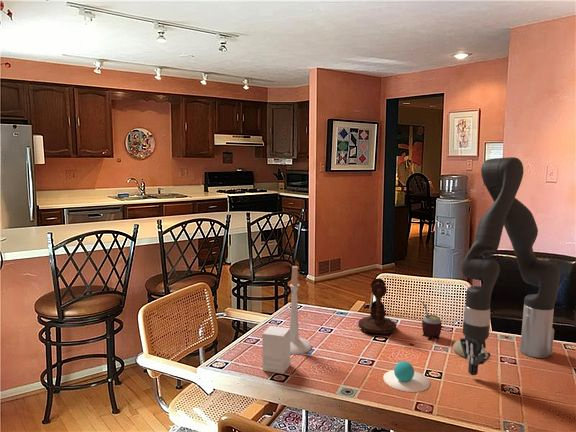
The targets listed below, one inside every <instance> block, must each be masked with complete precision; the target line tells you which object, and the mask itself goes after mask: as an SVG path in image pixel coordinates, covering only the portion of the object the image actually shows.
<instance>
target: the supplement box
mask: <svg viewBox="0 0 576 432" xmlns="http://www.w3.org/2000/svg"><path fill="white" fill-rule="evenodd" d="M290 366H291V354H290V327H282V326H275V325H269V326H268V327H267V328H266V329H265V331H263V332H262V371H264V372H269V373H276V374H282V375H284V374H285V372H286V371H287V370H288V368H289V367H290Z"/></svg>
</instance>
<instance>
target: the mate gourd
mask: <svg viewBox="0 0 576 432" xmlns="http://www.w3.org/2000/svg"><path fill="white" fill-rule="evenodd" d="M419 302H420V303H421V304H422V305H423V307H424V310H425V313H426V315H425V316H424V317H422V320H421V321H422V322H421V328H422V329H421V330H422V336H423V337H426V338H427V340H428V341H431V339H435V340H440V336H441V333H442V332H441V331H442V326H443V324H442V320H441V318H440V317H439V316H437V315H434V314H429V313H428V310H427V305H426V304H425V303H424V302H423V301H421V300H419Z"/></svg>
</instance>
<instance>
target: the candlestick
mask: <svg viewBox="0 0 576 432" xmlns="http://www.w3.org/2000/svg"><path fill="white" fill-rule="evenodd" d="M298 269H299V267H298V266H297V265H292V267H291V283H290V284H289V287H290V290H291V302H290V304H291V305H290V314H289V315H290V316H289V328H290V355H302V354H306V353H308V352H310V351H311V350H312V343H311V342H310V341H309V340H307V339H305V338H304V337H300V336H299V334H300V333H299V308H298V291H299V287H300V284H298V282H299V281H298V280H299V279H298V277H299V276H298V275H299V273H298V271H299V270H298Z"/></svg>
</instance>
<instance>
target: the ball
mask: <svg viewBox="0 0 576 432" xmlns="http://www.w3.org/2000/svg"><path fill="white" fill-rule="evenodd" d="M396 363H397V364H395V366H394V367H393V368H394V369H393V370H394V373H395V376H396V378H397V379H398V380H400V381H402V382H408V381H410V380H411V379H412V378H413V376H414V371H415V369H414V367H413V365H412V364H411V363H410V362H409V361H404V360H403V361H399V362H396Z"/></svg>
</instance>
